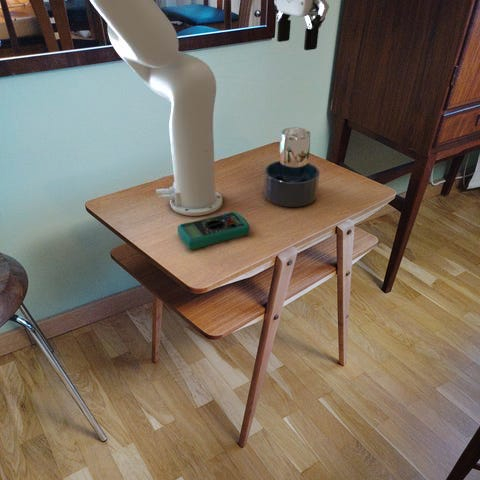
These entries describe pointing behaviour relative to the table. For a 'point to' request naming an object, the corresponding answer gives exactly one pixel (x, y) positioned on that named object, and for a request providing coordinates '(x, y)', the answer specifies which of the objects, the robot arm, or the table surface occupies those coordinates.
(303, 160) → the silver metal tumbler
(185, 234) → the digital multimeter
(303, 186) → the dark blue bowl
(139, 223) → the table surface
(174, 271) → the table surface
